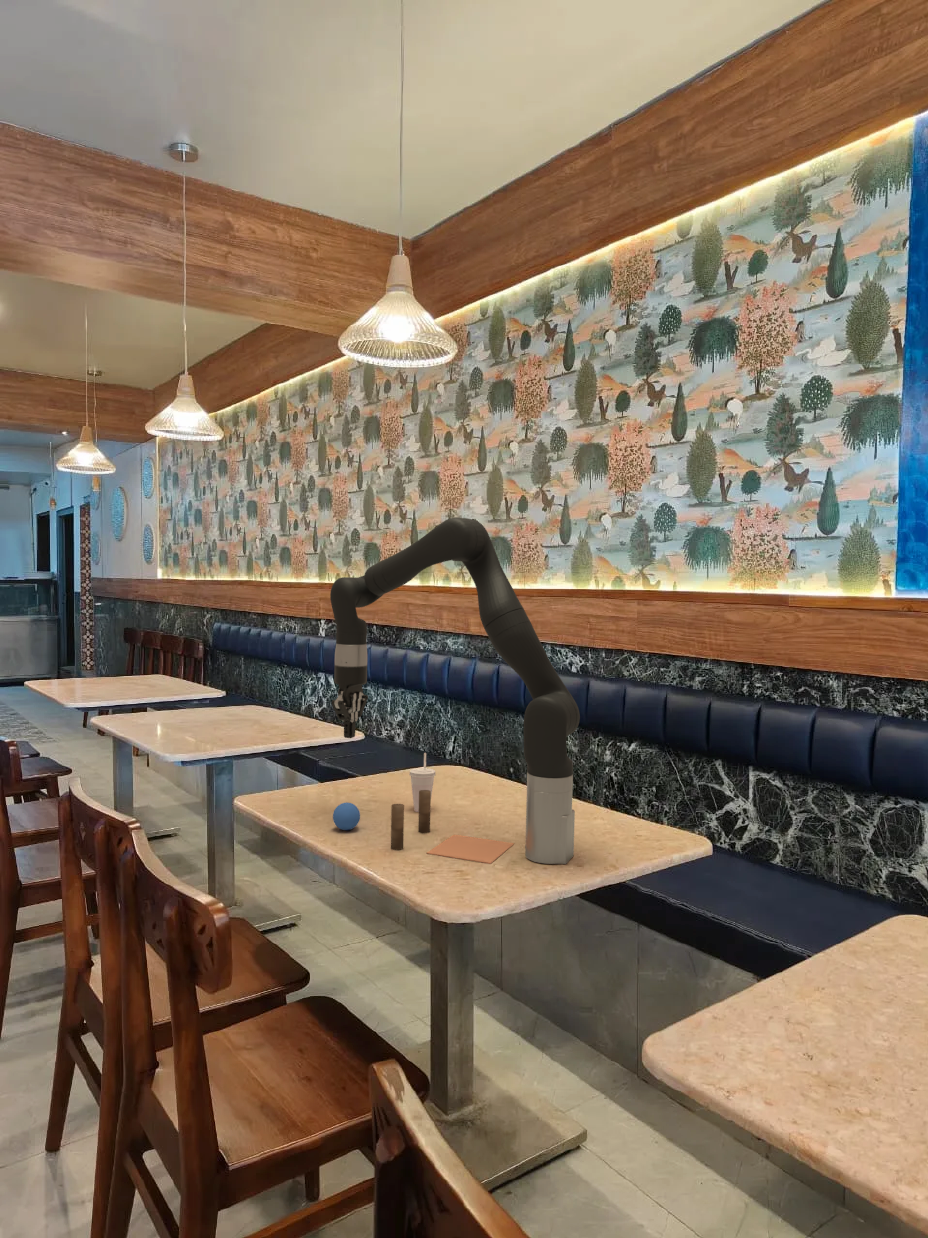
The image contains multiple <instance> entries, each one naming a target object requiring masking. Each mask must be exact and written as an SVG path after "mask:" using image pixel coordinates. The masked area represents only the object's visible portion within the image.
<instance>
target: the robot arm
mask: <svg viewBox="0 0 928 1238" xmlns="http://www.w3.org/2000/svg"><path fill="white" fill-rule="evenodd" d="M449 561H453V562H462V564H463V565H464V566H465V568H466V570H467V571H468V573H469V576H470V577H471V578H472V580H473V583H474V586H475V589H476V593H477V602H478V603H477V604H478V611H479V617H480V621H481V624H482V627H483V628H484V631H485V633H486V635H487V637H488V638H489V641H490V643H491V644H492V646H493V649H495V651H496V652H497V654H498V656H500V657H501V659H502V660H504V662H505V663H506V664H507V665H508V666H509V667H510V668H512V670H513V671H514V672H515V673H516V674H517V676H519V677H520V679H521V680H522V681H523V683H524V685H525V686H526V688H527V690H528V692H529V694H530V696H531V699H532V700H531V701H530V702H529V703H528V705H527V706H526V709H525V711H524V718H523V755H524V756H523V757H524V759H525V762H526V767H527V769H526V770H527V771H526V803H525V804H526V805H525V806H526V809H525V812H526V813H525V814H526V815H525V845H524V849H525V851H524V852H525V853H524V855H525V858H526V859H527V860H530V862H535V863H539V864H545V865H546V864H548V865H549V864H550V865H551V864H552V865H554V864H555V865H558V864H559V865H561V864H562V865H566V864H567V863H568V862H570V860H571V859H572V858H573V857H574V852H575V851H574V849H575V847H574V846H575V818H576V817H575V816H576V815H575V814H576V812H575V809H573V785H574V783H573V782H574V761H573V760H572V759H571V758H570V757H569V756H568V750H567V748H568V747H567V746H568V745H567V742H568V741H567V740H568V739H567V737H568V736H569V735H571V734H573V733H574V732H575V731H576V730H577V729H578V726H579V724H580V719H581V716H580V708H579V706H578V703H577V702H576V701H575V699H574V697H573V696H572V694H571V692H570V691H569V690H568V688H567V686H566V685H565V684H564V682H563V680H562V679H561V677H560V676H559V674H558V673H557V671H556V670H555V668H554V666H553V664H552V663H551V660H550V658H549V656H548V654H547V652H546V651H545V649H544V647H543V644H542V642H541V640H540V639H539V636H538V635H537V633H536V631H535V629H534V626H533V623H531V621H530V619H529V618H530V617H528V615H527V613H526V611H525V609H524V607H523V604H522V603H521V601H520V600H519V598H518V597H517V594H516V592H515V590H514V589H513V586H512V584H511V582H510V580H509V579H508V577H507V575H506V573H505V571H504V569H503V567H502V565H501V562H500V560H499V558H498V555H497V553H496V549H495V548H494V545H493V542H492V540H491V537H490V535H489V533H488V530H487V529H486V527H485V526H484V525H483V524H482V523H481V522H480V521H478V520H476V519H473V518H467V517H466V518H465V517H456V516H455V517H450V518H447V519H445V520H444V521H442V522H440V523H439V524H438V525H436V526H435V527H434V528H432V530H430V531H429V532H428V533H426V534H425V535H424V536H423V537H421V538H419V539H418V540H416V541H415V542H412V544H411V545H408V547H406V548H404V549H402V550H401V551H398V552H397V553H394V554H393V555H391V556H389V557H387V558H386V557H385V559H382V560H381V561H379V562H377V563H375V564H373V565H371V566H370V567H368V568H367V569H366V570H365V572H364V575H362V576H359V577H355V576H354V577H345V576H344V577H342V576H341V577H340V578H337V579H336V580H334V582H333V584H332V586H331V589H330V596H329V597H330V598H329V599H330V603H331V609H332V614H333V618H334V622H335V627H336V633H335V634H336V635H335V636H336V638H335V650H334V672H333V673H334V677H333V681H334V684H336V685H338V689H337V698H336V699H333V700H331V706H332V708H333V711H334V712H335V714H336V716H337V719H338V720H340V721H342V722H343V737H344V738H345V739H353V738H355V737H356V722H357V721H358V719H359V718H361V717H362V715H363V713H364V711H365V710H364V709H365V707H366V704H367V702H368V699H369V695H367V694H364V693H363V691H364V690H363V686H364V685H366V684H367V682H368V647H367V644H368V643H367V641H368V627H367V622H366V621H365V620H364V619H363V618H360V617H358V613H357V609H356V608H364V607H367V606H369V605H371V604H373V603H375V602H376V601H378V600H379V599H380V598H382V597H383V596H384V595H385V594H387V593H390V592H392V591H395V590H396V589H398V588H401V587H402V586H404V585H407V583H410V581H412V580H413V579H415V577H417V575H418V574H420V573H421V572H422V571H424V570H425V569H427V568H430V567H432V566H435V565H438V564H441V563H445V562H449Z"/></svg>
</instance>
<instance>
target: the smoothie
mask: <svg viewBox="0 0 928 1238" xmlns="http://www.w3.org/2000/svg"><path fill="white" fill-rule="evenodd" d="M436 774H437V773H436V770H435V769H433V768H429V767H428V768H427V753H426V752H424V753H423V767H417V768H411V769H410V770H409V777H410V784H411V791H412V792H411V794H412V801H413V802H412V803H413V811H414V812H416V813H419V791H420V790H429V791H431V797H432V794H433V790H434V789H433V788H434V787H433V786H434V781H435V776H436Z"/></svg>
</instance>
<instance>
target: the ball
mask: <svg viewBox="0 0 928 1238" xmlns="http://www.w3.org/2000/svg"><path fill="white" fill-rule="evenodd" d="M332 820H333V824H334V825H335V826H336V827H337V829H339V830H343V831H350V830H353V829H354V828H356V827H357V826H358V824H359V823H360V820H361V812H360V809H359V808H358V806H356V805H355V804H354V803H351V802H342V803H340V804H338V805H337V806H336V807H335V809H333V813H332Z"/></svg>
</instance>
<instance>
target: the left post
mask: <svg viewBox="0 0 928 1238" xmlns="http://www.w3.org/2000/svg"><path fill="white" fill-rule="evenodd" d="M390 807H391V809H390V813H391V815H390V817H391V818H390V820H391V821H390V849H391V850H392V851H401V850H404V826H405V823H404V822H405V821H404V820H405V804H402V803H392V804H391V806H390Z"/></svg>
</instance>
